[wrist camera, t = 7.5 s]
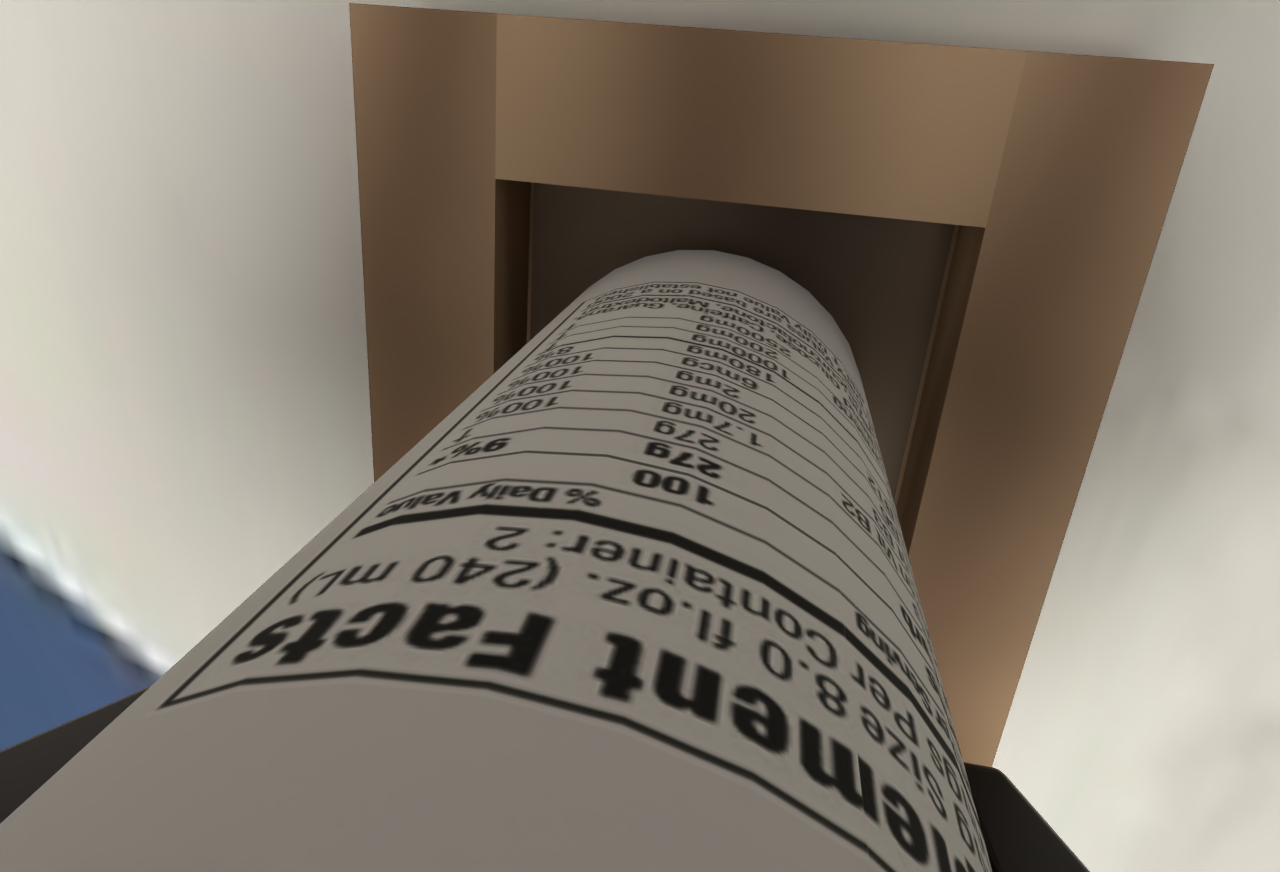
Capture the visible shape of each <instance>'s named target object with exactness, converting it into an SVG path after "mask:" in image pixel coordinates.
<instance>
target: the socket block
mask: <svg viewBox="0 0 1280 872" xmlns="http://www.w3.org/2000/svg"><path fill="white" fill-rule="evenodd" d="M349 7H350V26H351V45H352V64H353V83H354V103H355V122H356V141H357V160H358V179H359V198H360V217H361V236H362V255H363V275H364V294H365V313H366V332H367V351H368V370H369V389H370V408H371V427H372V447H373V466H374V483H375V482H376V481H377V480H378V479H379V478H380V477H381V476H382V475H383V474H385V473H386V472H387V471H388V470H389V469H390V468H391V467H392V466H393V465H394V464H396V463H397V462H398V461H399V460H400V459H401V458H402V457H403V456H404V455H405V454H406V453H408V452H409V451H410V450H411V449H412V448H413V447H414V446H415V445H416V444H417V443H419V442H420V441H421V440H422V439H423V438H424V437H425V436H426V435H427V434H428V433H430V432H431V431H432V430H433V429H434V428H435V427H436V426H437V425H438V424H439V423H440V422H442V421H443V420H444V419H445V418H446V417H447V416H448V415H449V414H450V413H451V412H453V411H454V410H455V409H456V408H457V407H458V406H459V405H460V404H461V403H462V402H464V401H465V400H466V399H467V398H468V397H469V396H470V395H471V394H472V393H473V392H475V391H476V390H477V389H478V388H479V387H480V386H481V385H482V384H483V383H484V382H485V381H487V380H488V379H489V378H490V377H491V376H492V375H493V374H494V373H495V372H496V371H498V370H499V369H500V368H501V367H502V366H503V365H504V364H505V363H506V362H507V361H509V360H510V359H511V358H512V357H513V356H514V355H515V354H516V353H517V352H518V351H519V350H521V349H522V348H523V347H524V346H525V345H526V344H527V343H528V342H529V341H530V340H532V339H533V338H534V337H535V336H536V335H537V334H538V333H539V332H540V331H541V330H543V329H544V328H545V327H546V326H547V325H548V324H549V323H550V322H551V321H552V320H553V319H555V318H556V317H557V316H558V315H559V314H560V313H561V312H562V311H563V310H564V309H566V308H567V307H568V306H569V305H570V304H571V303H572V302H573V301H574V300H575V299H577V298H578V297H579V296H580V295H581V294H582V293H583V292H584V291H585V290H586V289H587V288H589V287H590V286H592V285H593V284H594V283H596V282H597V281H599V280H600V279H602V278H603V277H605V276H606V275H607V274H609V273H610V272H612V271H613V270H615V269H617V268H619V267H622V266H624V265H626V264H629V263H631V262H634V261H636V260H638V259H641V258H643V257H646V256H651V255H656V254H661V253H666V252H671V251H676V250H715V251H719V252H724V253H729V254H734V255H739V256H744V257H748V258H750V259H753V260H755V261H757V262H760V263H762V264H764V265H767V266H769V267H771V268H774V269H776V270H778V271H780V272H782V273H783V274H784V275H786V276H787V277H789V278H790V279H792V280H793V281H795V282H796V283H797V284H799V285H800V286H802V287H803V288H805V289H806V290H808V291H809V292H810V293H811V294H812V296H813V297H814V298H815V299H816V300H817V301H818V302H819V303H820V304H821V305H822V306H823V307H824V308H825V309H826V310H827V311H828V312H829V313H830V314H831V316H832V317H833V319H834V320H835V322H836V324H837V325H838V327H839V328H840V330H841V332H842V333H843V335H844V336H845V338H846V340H847V341H848V343H849V345H850V348H851V351H852V354H853V356H854V359H855V362H856V365H857V368H858V371H859V373H860V377H861V381H862V384H863V388H864V392H865V396H866V399H867V403H868V407H869V411H870V414H871V418H872V422H873V426H874V429H875V433H876V437H877V441H878V444H879V448H880V452H881V455H882V459H883V463H884V467H885V470H886V474H887V478H888V482H889V485H890V489H891V493H892V497H893V500H894V504H895V508H896V512H897V515H898V519H899V523H900V527H901V530H902V534H903V538H904V542H905V545H906V549H907V553H908V557H909V560H910V564H911V568H912V572H913V575H914V579H915V583H916V587H917V590H918V594H919V598H920V602H921V605H922V609H923V613H924V617H925V620H926V624H927V628H928V632H929V635H930V639H931V643H932V647H933V650H934V654H935V658H936V662H937V665H938V669H939V673H940V677H941V680H942V684H943V688H944V692H945V695H946V699H947V703H948V707H949V710H950V714H951V718H952V722H953V725H954V729H955V733H956V737H957V740H958V744H959V748H960V752H961V755H962V759H963V762H967V763H972V764H977V765H983V766H988V767H992V764H993V761H994V758H995V755H996V752H997V748H998V745H999V742H1000V739H1001V736H1002V733H1003V729H1004V726H1005V723H1006V720H1007V717H1008V714H1009V710H1010V707H1011V704H1012V701H1013V698H1014V695H1015V691H1016V688H1017V685H1018V682H1019V679H1020V676H1021V673H1022V669H1023V666H1024V663H1025V660H1026V657H1027V654H1028V650H1029V647H1030V644H1031V641H1032V638H1033V635H1034V631H1035V628H1036V625H1037V622H1038V619H1039V616H1040V612H1041V609H1042V606H1043V603H1044V600H1045V597H1046V594H1047V590H1048V587H1049V584H1050V581H1051V578H1052V575H1053V571H1054V568H1055V565H1056V562H1057V559H1058V556H1059V552H1060V549H1061V546H1062V543H1063V540H1064V537H1065V534H1066V530H1067V527H1068V524H1069V521H1070V518H1071V515H1072V511H1073V508H1074V505H1075V502H1076V499H1077V496H1078V492H1079V489H1080V486H1081V483H1082V480H1083V477H1084V473H1085V470H1086V467H1087V464H1088V461H1089V458H1090V455H1091V451H1092V448H1093V445H1094V442H1095V439H1096V436H1097V432H1098V429H1099V426H1100V423H1101V420H1102V417H1103V413H1104V410H1105V407H1106V404H1107V401H1108V398H1109V394H1110V391H1111V388H1112V385H1113V382H1114V379H1115V376H1116V372H1117V369H1118V366H1119V363H1120V360H1121V357H1122V353H1123V350H1124V347H1125V344H1126V341H1127V338H1128V334H1129V331H1130V328H1131V325H1132V322H1133V319H1134V315H1135V312H1136V309H1137V306H1138V303H1139V300H1140V297H1141V293H1142V290H1143V287H1144V284H1145V281H1146V278H1147V274H1148V271H1149V268H1150V265H1151V262H1152V259H1153V255H1154V252H1155V249H1156V246H1157V243H1158V240H1159V236H1160V233H1161V230H1162V227H1163V224H1164V221H1165V218H1166V214H1167V211H1168V208H1169V205H1170V202H1171V199H1172V195H1173V192H1174V189H1175V186H1176V183H1177V180H1178V176H1179V173H1180V170H1181V167H1182V164H1183V161H1184V158H1185V154H1186V151H1187V148H1188V145H1189V142H1190V139H1191V135H1192V132H1193V129H1194V126H1195V123H1196V120H1197V116H1198V113H1199V110H1200V107H1201V104H1202V101H1203V97H1204V94H1205V91H1206V88H1207V85H1208V82H1209V79H1210V75H1211V72H1212V69H1213V66H1214V64H1202V63H1188V62H1174V61H1160V60H1146V59H1132V58H1118V57H1103V56H1089V55H1075V54H1061V53H1047V52H1033V51H1019V50H1004V49H990V48H976V47H962V46H948V45H934V44H920V43H905V42H891V41H877V40H863V39H849V38H835V37H821V36H806V35H792V34H778V33H764V32H750V31H736V30H722V29H707V28H693V27H679V26H665V25H651V24H637V23H623V22H608V21H594V20H580V19H566V18H552V17H538V16H524V15H509V14H495V13H481V12H467V11H453V10H439V9H425V8H410V7H396V6H382V5H368V4H354V3H349Z"/></svg>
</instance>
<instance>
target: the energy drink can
mask: <svg viewBox="0 0 1280 872" xmlns="http://www.w3.org/2000/svg"><path fill="white" fill-rule="evenodd" d="M0 872H992V868H991V864H990V860H989V857H988V853H987V849H986V845H985V842H984V838H983V834H982V830H981V827H980V823H979V819H978V815H977V812H976V808H975V804H974V800H973V797H972V793H971V789H970V785H969V782H968V778H967V774H966V770H965V767H964V763H963V759H962V755H961V752H960V748H959V744H958V740H957V737H956V733H955V729H954V725H953V722H952V718H951V714H950V710H949V707H948V703H947V699H946V695H945V692H944V688H943V684H942V680H941V677H940V673H939V669H938V665H937V662H936V658H935V654H934V650H933V647H932V643H931V639H930V635H929V632H928V628H927V624H926V620H925V617H924V613H923V609H922V605H921V602H920V598H919V594H918V590H917V587H916V583H915V579H914V575H913V572H912V568H911V564H910V560H909V557H908V553H907V549H906V545H905V542H904V538H903V534H902V530H901V527H900V523H899V519H898V515H897V512H896V508H895V504H894V500H893V497H892V493H891V489H890V485H889V482H888V478H887V474H886V470H885V467H884V463H883V459H882V455H881V452H880V448H879V444H878V441H877V437H876V433H875V429H874V426H873V422H872V418H871V414H870V411H869V407H868V403H867V399H866V396H865V392H864V388H863V384H862V381H861V377H860V373H859V371H858V368H857V365H856V362H855V359H854V356H853V354H852V351H851V348H850V345H849V343H848V341H847V340H846V338H845V336H844V335H843V333H842V332H841V330H840V328H839V327H838V325H837V324H836V322H835V320H834V319H833V317H832V316H831V314H830V313H829V312H828V311H827V310H826V309H825V308H824V307H823V306H822V305H821V304H820V303H819V302H818V301H817V300H816V299H815V298H814V297H813V296H812V294H811V293H810V292H809V291H808V290H806V289H805V288H803V287H802V286H800V285H799V284H797V283H796V282H795V281H793V280H792V279H790V278H789V277H787V276H786V275H784V274H783V273H782V272H780V271H778V270H776V269H774V268H771V267H769V266H767V265H764V264H762V263H760V262H757V261H755V260H753V259H750V258H748V257H744V256H739V255H734V254H729V253H724V252H719V251H715V250H676V251H671V252H666V253H661V254H656V255H651V256H646V257H643V258H641V259H638V260H636V261H634V262H631V263H629V264H626V265H624V266H622V267H619V268H617V269H615V270H613V271H612V272H610V273H609V274H607V275H606V276H605V277H603V278H602V279H600V280H599V281H597V282H596V283H594V284H593V285H592V286H590V287H589V288H587V289H586V290H585V291H584V292H583V293H582V294H581V295H580V296H579V297H578V298H577V299H575V300H574V301H573V302H572V303H571V304H570V305H569V306H568V307H567V308H566V309H564V310H563V311H562V312H561V313H560V314H559V315H558V316H557V317H556V318H555V319H553V320H552V321H551V322H550V323H549V324H548V325H547V326H546V327H545V328H544V329H543V330H541V331H540V332H539V333H538V334H537V335H536V336H535V337H534V338H533V339H532V340H530V341H529V342H528V343H527V344H526V345H525V346H524V347H523V348H522V349H521V350H519V351H518V352H517V353H516V354H515V355H514V356H513V357H512V358H511V359H510V360H509V361H507V362H506V363H505V364H504V365H503V366H502V367H501V368H500V369H499V370H498V371H496V372H495V373H494V374H493V375H492V376H491V377H490V378H489V379H488V380H487V381H485V382H484V383H483V384H482V385H481V386H480V387H479V388H478V389H477V390H476V391H475V392H473V393H472V394H471V395H470V396H469V397H468V398H467V399H466V400H465V401H464V402H462V403H461V404H460V405H459V406H458V407H457V408H456V409H455V410H454V411H453V412H451V413H450V414H449V415H448V416H447V417H446V418H445V419H444V420H443V421H442V422H440V423H439V424H438V425H437V426H436V427H435V428H434V429H433V430H432V431H431V432H430V433H428V434H427V435H426V436H425V437H424V438H423V439H422V440H421V441H420V442H419V443H417V444H416V445H415V446H414V447H413V448H412V449H411V450H410V451H409V452H408V453H406V454H405V455H404V456H403V457H402V458H401V459H400V460H399V461H398V462H397V463H396V464H394V465H393V466H392V467H391V468H390V469H389V470H388V471H387V472H386V473H385V474H383V475H382V476H381V477H380V478H379V479H378V480H377V481H376V482H375V483H374V484H372V485H371V486H370V487H369V488H368V489H367V490H366V491H365V492H364V493H363V494H362V495H360V496H359V497H358V498H357V499H356V500H355V501H354V502H353V503H352V504H351V505H349V506H348V507H347V508H346V509H345V510H344V511H343V512H342V513H341V514H340V515H338V516H337V517H336V518H335V519H334V520H333V521H332V522H331V523H330V524H329V525H328V526H326V527H325V528H324V529H323V530H322V531H321V532H320V533H319V534H318V535H317V536H315V537H314V538H313V539H312V540H311V541H310V542H309V543H308V544H307V545H306V546H304V547H303V548H302V549H301V550H300V551H299V552H298V553H297V554H296V555H295V556H293V557H292V558H291V559H290V560H289V561H288V562H287V563H286V564H285V565H284V566H283V567H281V568H280V569H279V570H278V571H277V572H276V573H275V574H274V575H273V576H272V577H270V578H269V579H268V580H267V581H266V582H265V583H264V584H263V585H262V586H261V587H259V588H258V589H257V590H256V591H255V592H254V593H253V594H252V595H251V596H250V597H249V598H247V599H246V600H245V601H244V602H243V603H242V604H241V605H240V606H239V607H238V608H236V609H235V610H234V611H233V612H232V613H231V614H230V615H229V616H228V617H227V618H225V619H224V620H223V621H222V622H221V623H220V624H219V625H218V626H217V627H216V628H215V629H213V630H212V631H211V632H210V633H209V634H208V635H207V636H206V637H205V638H204V639H202V640H201V641H200V642H199V643H198V644H197V645H196V646H195V647H194V648H193V649H191V650H190V651H189V652H188V653H187V654H186V655H185V656H184V657H183V658H182V659H181V660H179V661H178V662H177V663H176V664H175V665H174V666H173V667H172V668H171V669H170V670H168V671H167V672H166V673H165V674H164V675H163V676H162V677H161V678H160V679H159V680H157V681H156V682H155V683H154V684H153V685H152V686H151V687H150V688H149V689H148V690H146V691H145V692H144V693H143V694H142V695H141V696H140V697H139V698H138V699H137V700H136V701H134V702H133V703H132V704H131V705H130V706H129V707H128V708H127V709H126V710H125V711H123V712H122V713H121V714H120V715H119V716H118V717H117V718H116V719H115V720H114V721H112V722H111V723H110V724H109V725H108V726H107V727H106V728H105V729H104V730H103V731H102V732H100V733H99V734H98V735H97V736H96V737H95V738H94V739H93V740H92V741H91V742H89V743H88V744H87V745H86V746H85V747H84V748H83V749H82V750H81V751H80V752H78V753H77V754H76V755H75V756H74V757H73V758H72V759H71V760H70V761H69V762H68V763H66V764H65V765H64V766H63V767H62V768H61V769H60V770H59V771H58V772H57V773H55V774H54V775H53V776H52V777H51V778H50V779H49V780H48V781H47V782H46V783H44V784H43V785H42V786H41V787H40V788H39V789H38V790H37V791H36V792H35V793H34V794H32V795H31V796H30V797H29V798H28V799H27V800H26V801H25V802H24V803H23V804H21V805H20V806H19V807H18V808H17V809H16V810H15V811H14V812H13V813H12V814H10V815H9V816H8V817H7V818H6V819H5V820H4V821H3V822H2V823H1V824H0Z"/></svg>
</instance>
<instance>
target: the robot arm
mask: <svg viewBox="0 0 1280 872" xmlns="http://www.w3.org/2000/svg"><path fill="white" fill-rule="evenodd" d="M150 687H151V686H150ZM150 687H148V688H145V689H143V690H141V691H138V692H136V693H134V694H132V695H129V696H127V697H125V698H122V699H120V700H118V701H115V702H113V703H111V704H108V705H106V706H104V707H101V708H99V709H97V710H94V711H92V712H90V713H88V714H85V715H83V716H81V717H78V718H76V719H74V720H71V721H69V722H67V723H64V724H62V725H60V726H57V727H55V728H53V729H50V730H48V731H46V732H44V733H41V734H39V735H37V736H34V737H32V738H30V739H27V740H25V741H23V742H20V743H18V744H16V745H13V746H11V747H9V748H6V749H4V750H2V751H0V824H1V823H2V822H3V821H4V820H5V819H6V818H7V817H8V816H9V815H10V814H12V813H13V812H14V811H15V810H16V809H17V808H18V807H19V806H20V805H21V804H23V803H24V802H25V801H26V800H27V799H28V798H29V797H30V796H31V795H32V794H34V793H35V792H36V791H37V790H38V789H39V788H40V787H41V786H42V785H43V784H44V783H46V782H47V781H48V780H49V779H50V778H51V777H52V776H53V775H54V774H55V773H57V772H58V771H59V770H60V769H61V768H62V767H63V766H64V765H65V764H66V763H68V762H69V761H70V760H71V759H72V758H73V757H74V756H75V755H76V754H77V753H78V752H80V751H81V750H82V749H83V748H84V747H85V746H86V745H87V744H88V743H89V742H91V741H92V740H93V739H94V738H95V737H96V736H97V735H98V734H99V733H100V732H102V731H103V730H104V729H105V728H106V727H107V726H108V725H109V724H110V723H111V722H112V721H114V720H115V719H116V718H117V717H118V716H119V715H120V714H121V713H122V712H123V711H125V710H126V709H127V708H128V707H129V706H130V705H131V704H132V703H133V702H134V701H136V700H137V699H138V698H139V697H140V696H141V695H142V694H143V693H144V692H145V691H146V690H148V689H149V688H150ZM963 763H964V767H965V770H966V774H967V778H968V782H969V785H970V789H971V793H972V797H973V800H974V804H975V808H976V812H977V815H978V819H979V823H980V827H981V830H982V834H983V838H984V842H985V845H986V849H987V853H988V857H989V860H990V864H991V868H992V872H1090V871H1089V870H1088V869H1087V868H1086V867H1085V865H1084V864H1083V863H1082V862H1081V861H1080V860H1079V859H1078V857H1077V856H1076V855H1075V854H1074V853H1073V852H1072V851H1071V849H1070V848H1069V847H1068V846H1067V845H1066V844H1065V843H1064V841H1063V840H1062V839H1061V838H1060V837H1059V836H1058V835H1057V833H1056V832H1055V831H1054V830H1053V829H1052V828H1051V827H1050V825H1049V824H1048V823H1047V822H1046V821H1045V820H1044V819H1043V817H1042V816H1041V815H1040V814H1039V813H1038V812H1037V811H1036V809H1035V808H1034V807H1033V806H1032V805H1031V804H1030V803H1029V801H1028V800H1027V799H1026V798H1025V797H1024V796H1023V795H1022V793H1021V792H1020V791H1019V790H1018V789H1017V788H1016V787H1015V785H1014V784H1013V783H1012V782H1011V781H1010V780H1009V779H1008V777H1007V776H1006V775H1005V774H1003V773H1002V772H1001V771H999V770H998V769H995V768H993V767H988V766H983V765H977V764H972V763H967V762H963Z"/></svg>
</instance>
